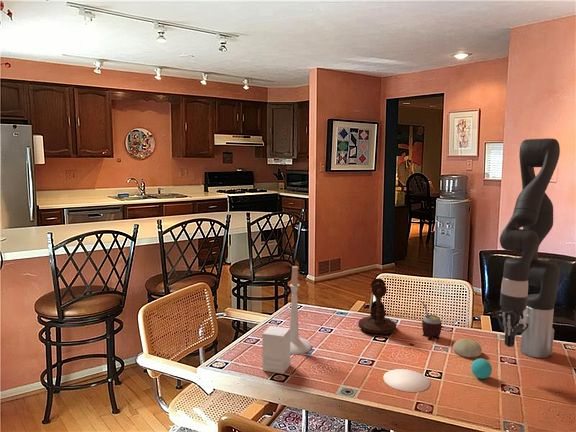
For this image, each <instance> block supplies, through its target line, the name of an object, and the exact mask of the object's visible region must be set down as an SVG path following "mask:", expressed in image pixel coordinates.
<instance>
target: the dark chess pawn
mask: <svg viewBox="0 0 576 432" xmlns="http://www.w3.org/2000/svg"><path fill="white" fill-rule="evenodd" d="M370 287H371V294H370V300H369V301H370V302H369V316H365V317H364V316H363V317H362V318H360V319H359V320H358V324H357V326H358V327H359V328H360V329H362V330H363V334H367V332H368V333H374V334H388V335H389V336H391V335H392V333H393V332H394V331H396V330H397V324H396V322H395V321H394V320H392V319H391V318H388V317H386V313H387V312H386V310H385V304H384V303H383V302H382V299H383V297H385V296H386V294H387V287H386V282H385V280H384V279H382V278H379V277H378V278H374V279H373V280H371V284H370ZM374 297H375V300H374V301H373V298H374Z"/></svg>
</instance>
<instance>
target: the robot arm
mask: <svg viewBox="0 0 576 432" xmlns="http://www.w3.org/2000/svg"><path fill="white" fill-rule="evenodd" d="M560 155H561V147H560V143H559V140H557V139H556V138H552V137H551V138H547V137H546V138H530V139H524V140H523V141H521V143H520V145H519V167H520V176H521V177H520V178H521V186H522V189H521V191H520V193H519V194H518V196H517V198H516V201H515V205H514V208H513V213H512V215H511V217H510V219H509V221H508V223H507V224H506V226H505V227H504V228H503V230H502V232H501V234H500V237H499V245H500V247H501V248H502V249H503V250H504V251H510V252H515V253H516V252H517V253H522V256H521V257H515V258H513V257H512V258H511V257H510V258H507V259H505V261H504V263H503V273H502V274H503V275H502V280H501V287H500V295H499V296H500V298H499V306H500V307H501V308H500V310H498V311H495V316H496V319H497V321H498V324H499V327H500V330H503V333H504V345H505V346H506V347H508V348H512V347H514V346H515V340H516V336H517V337H518V336H520V347H519V350H520V352H521V353H522V354H524V355H526V356H529V357H532V358H538V359H546V358H548V357H550V356H552V355H553V350H554V349H553V347H554V337H555V329H554V327H553V323H554V320H553V319H554V310H555V303H556V301H557V300H556V299H557V295H558V290H559V289H558V288H559V282H560V275H561V273H560V267H559V266H558V264H556V263H554V262H550V261H545V260H541V259H539V258H538V257H539V256H538V253H539V247H540V246H541V244H542V242H543V240H544V239H545V238H546V237H547V235H548V234H549V233H550V231H551V230H552V228H553V226H554V205H553V202H552V200H551V199H550V197H549V196H548V194H547V193H546V191H547V189H548V186H549V184H550V182H551V179H552V177H553V175H554V172H555V170H556V168H557V165H558V163H559V158H560ZM535 168H540V171H539V172H538V173H537V175H536V172H535ZM529 285H530V286H533V287H537V288H540V291H539V293H531V294H528V292H529Z"/></svg>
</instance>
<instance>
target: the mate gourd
mask: <svg viewBox="0 0 576 432" xmlns="http://www.w3.org/2000/svg"><path fill="white" fill-rule="evenodd" d="M419 302H420V303H421V304H422V305H423V307H424V310H425V313H426V315H425V316H424V317H422V320H421V321H422V322H421V328H422V329H421V330H422V336H423V337H426V338H427V340H428V341H431V339H435V340H440V336H441V333H442V332H441V331H442V326H443V324H442V320H441V318H440V317H439V316H437V315H434V314H429V313H428V310H427V305H426V304H425V303H424V302H423V301H421V300H419Z"/></svg>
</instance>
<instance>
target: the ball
mask: <svg viewBox="0 0 576 432" xmlns="http://www.w3.org/2000/svg"><path fill="white" fill-rule="evenodd" d="M470 368H471V373H472V374H473V375H474V376H475V377H476V378H478V379H487V378H489V377H491V375H492V373H493V367H492V364H491V363H490V362H489V361H488V360H487V359H485V358H475V360H474V361H472V363H471V367H470Z"/></svg>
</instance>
